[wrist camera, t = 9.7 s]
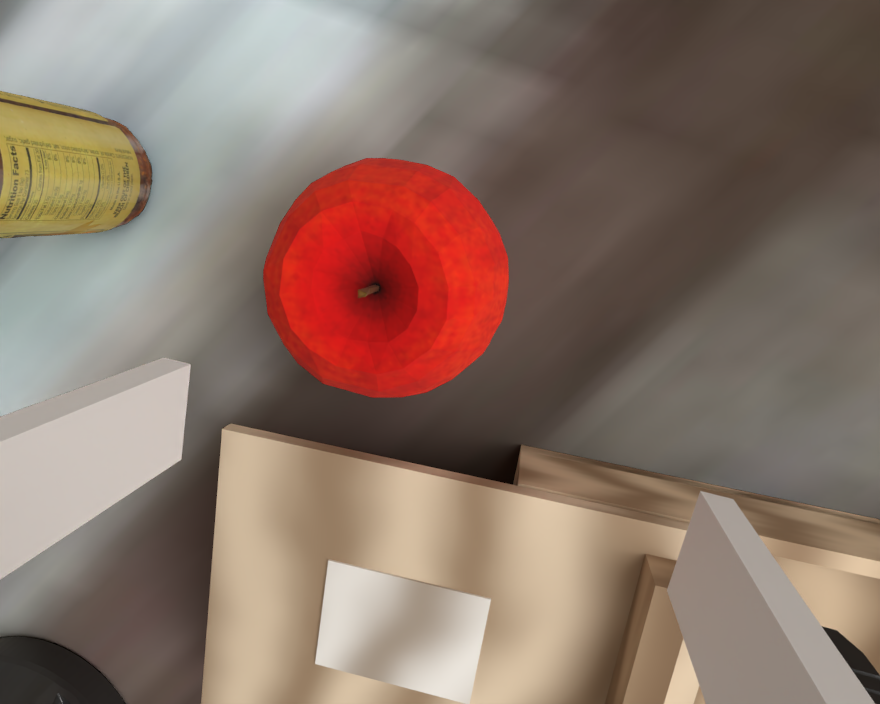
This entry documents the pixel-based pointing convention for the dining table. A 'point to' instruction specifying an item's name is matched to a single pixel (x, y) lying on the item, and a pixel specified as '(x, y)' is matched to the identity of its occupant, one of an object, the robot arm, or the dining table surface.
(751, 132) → the dining table surface
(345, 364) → the apple
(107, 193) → the sauce bottle
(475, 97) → the dining table surface
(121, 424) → the robot arm
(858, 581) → the wooden box
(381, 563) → the lid
